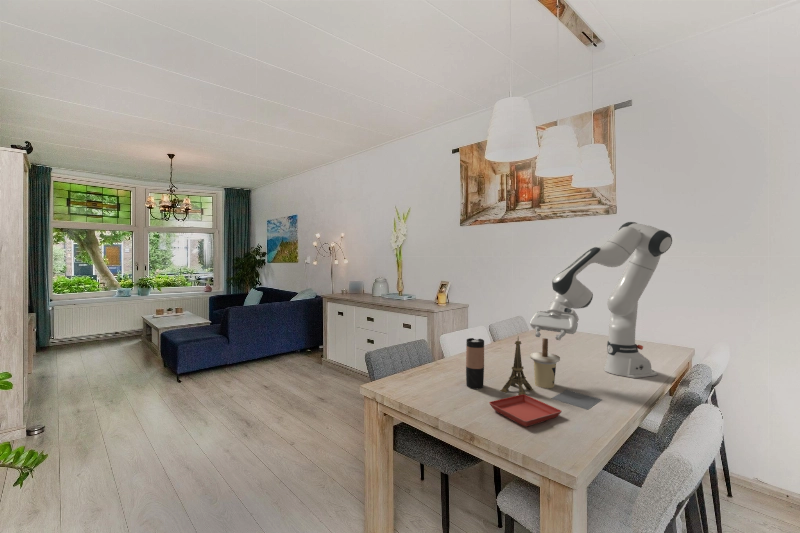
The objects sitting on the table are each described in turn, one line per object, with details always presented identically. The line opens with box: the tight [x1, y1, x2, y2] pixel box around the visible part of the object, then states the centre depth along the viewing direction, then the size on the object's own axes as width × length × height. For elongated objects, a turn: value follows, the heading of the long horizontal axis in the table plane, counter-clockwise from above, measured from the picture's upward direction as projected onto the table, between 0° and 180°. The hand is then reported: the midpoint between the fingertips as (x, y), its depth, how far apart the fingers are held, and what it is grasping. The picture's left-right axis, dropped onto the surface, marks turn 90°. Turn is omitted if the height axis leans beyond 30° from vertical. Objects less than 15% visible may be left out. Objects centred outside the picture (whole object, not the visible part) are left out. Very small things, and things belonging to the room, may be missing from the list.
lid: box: [529, 337, 561, 363], centre depth 163 cm, size 12×12×8 cm
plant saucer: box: [488, 394, 563, 428], centre depth 136 cm, size 18×18×3 cm
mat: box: [550, 389, 603, 411], centre depth 149 cm, size 14×14×1 cm
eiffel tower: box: [499, 337, 534, 395], centre depth 158 cm, size 11×11×25 cm
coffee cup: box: [533, 360, 558, 389], centre depth 164 cm, size 9×9×12 cm
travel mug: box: [465, 337, 485, 390], centre depth 163 cm, size 8×8×20 cm
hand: (547, 337), depth 165 cm, fingers open, 8 cm apart
